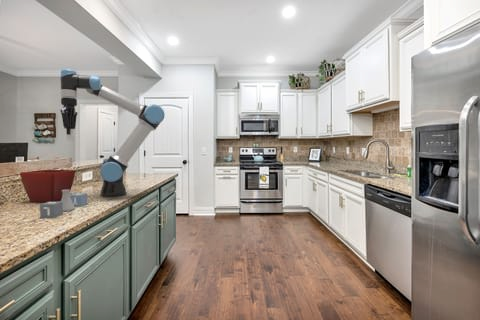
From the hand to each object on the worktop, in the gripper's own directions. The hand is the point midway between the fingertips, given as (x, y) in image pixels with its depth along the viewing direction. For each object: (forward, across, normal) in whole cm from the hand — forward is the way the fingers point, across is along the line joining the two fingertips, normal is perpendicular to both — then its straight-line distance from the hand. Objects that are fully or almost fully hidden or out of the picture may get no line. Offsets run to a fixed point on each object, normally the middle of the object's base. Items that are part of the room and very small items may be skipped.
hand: (69, 140), depth 152 cm
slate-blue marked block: (+35, +12, +10) cm, 38 cm away
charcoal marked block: (+35, +34, +10) cm, 50 cm away
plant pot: (+35, -1, -12) cm, 37 cm away
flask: (+35, +23, +10) cm, 43 cm away
